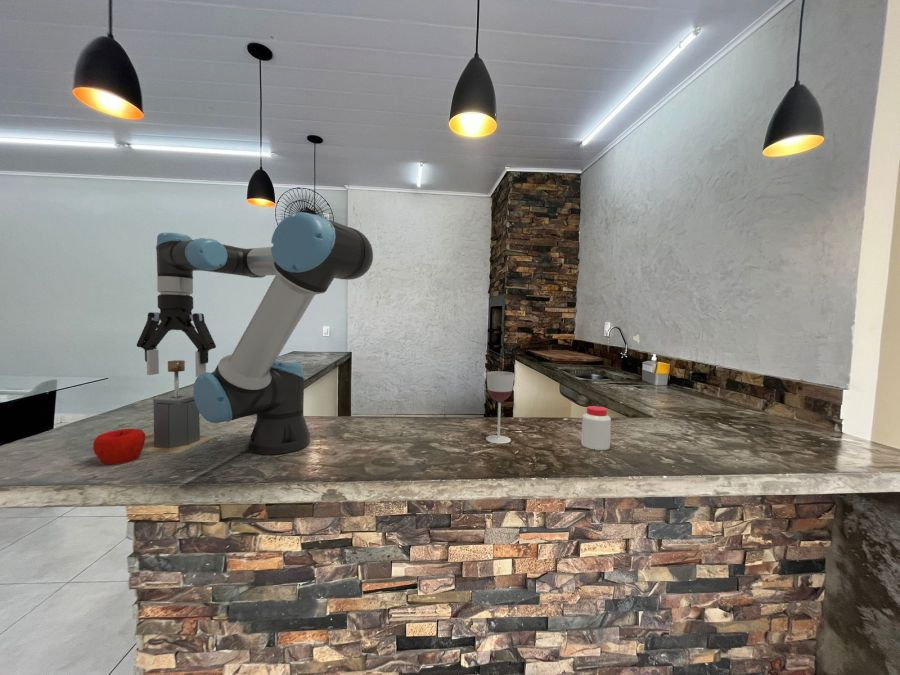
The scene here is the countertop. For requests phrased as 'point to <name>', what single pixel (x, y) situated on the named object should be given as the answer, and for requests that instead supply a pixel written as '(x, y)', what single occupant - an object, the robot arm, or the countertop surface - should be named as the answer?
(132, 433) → the apple
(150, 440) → the board
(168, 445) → the gray octagonal holder
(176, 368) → the plunger
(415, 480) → the countertop surface
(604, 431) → the pill bottle
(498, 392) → the wineglass
